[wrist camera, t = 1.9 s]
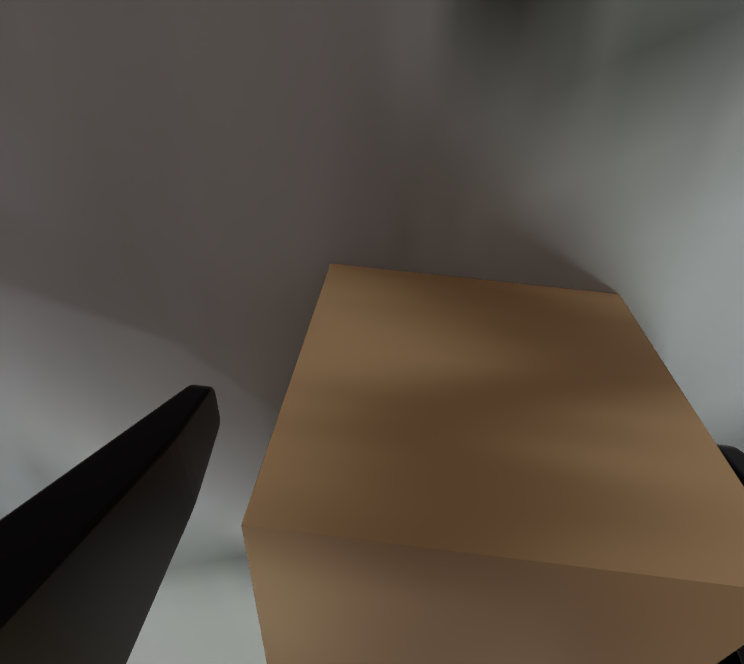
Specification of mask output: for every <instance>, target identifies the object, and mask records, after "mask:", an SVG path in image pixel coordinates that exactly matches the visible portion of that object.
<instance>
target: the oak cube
mask: <svg viewBox="0 0 744 664" xmlns="http://www.w3.org/2000/svg"><path fill="white" fill-rule="evenodd" d="M241 525H242V531H243V536H244V542H245V547H246V553H247V558H248V564H249V569H250V574H251V580H252V585H253V591H254V596H255V602H256V607H257V613H258V618H259V623H260V629H261V634H262V640H263V645H264V651H265V656H266V661H267V664H717V663H719V662H720V661H721V660H723V659H724V658H726V657H727V656H729V655H730V654H731V653H733V652H734V651H736V650H737V649H739V648H740V647H741V646H743V645H744V487H743V485H742V483H741V482H740V480H739V479H738V477H737V476H736V474H735V473H734V471H733V470H732V468H731V466H730V465H729V463H728V462H727V460H726V459H725V457H724V456H723V454H722V453H721V451H720V449H719V448H718V446H717V445H716V443H715V442H714V440H713V439H712V437H711V436H710V434H709V432H708V431H707V429H706V428H705V426H704V425H703V423H702V422H701V420H700V419H699V417H698V415H697V414H696V412H695V411H694V409H693V408H692V406H691V405H690V403H689V402H688V400H687V399H686V397H685V395H684V394H683V392H682V391H681V389H680V388H679V386H678V385H677V383H676V382H675V380H674V378H673V377H672V375H671V374H670V372H669V371H668V369H667V368H666V366H665V365H664V363H663V361H662V360H661V358H660V357H659V355H658V354H657V352H656V351H655V349H654V348H653V346H652V344H651V343H650V341H649V340H648V338H647V337H646V335H645V334H644V332H643V331H642V329H641V327H640V326H639V324H638V323H637V321H636V320H635V318H634V317H633V315H632V314H631V312H630V310H629V309H628V307H627V306H626V304H625V303H624V301H623V300H622V298H621V297H620V295H619V294H613V293H604V292H594V291H585V290H576V289H566V288H557V287H547V286H538V285H529V284H519V283H510V282H500V281H491V280H482V279H472V278H463V277H454V276H444V275H435V274H425V273H416V272H407V271H397V270H388V269H379V268H369V267H360V266H350V265H341V264H332V263H330V266H329V269H328V272H327V275H326V278H325V281H324V284H323V287H322V290H321V293H320V296H319V298H318V301H317V304H316V307H315V310H314V313H313V316H312V319H311V322H310V325H309V328H308V331H307V334H306V337H305V340H304V342H303V345H302V348H301V351H300V354H299V357H298V360H297V363H296V366H295V369H294V372H293V375H292V378H291V381H290V384H289V386H288V389H287V392H286V395H285V398H284V401H283V404H282V407H281V410H280V413H279V416H278V419H277V422H276V425H275V428H274V430H273V433H272V436H271V439H270V442H269V445H268V448H267V451H266V454H265V457H264V460H263V463H262V466H261V469H260V472H259V474H258V477H257V480H256V483H255V486H254V489H253V492H252V495H251V498H250V501H249V504H248V507H247V510H246V513H245V516H244V519H243V521H242V524H241Z"/></svg>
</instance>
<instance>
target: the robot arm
mask: <svg viewBox="0 0 744 664" xmlns="http://www.w3.org/2000/svg"><path fill="white" fill-rule="evenodd" d="M219 425H220V415H219V410H218V405H217V399H216V394H215V391H214V389H213V388H212V387H209V386H201V385H190V386H188V387H186V388H185V389H183V390H182V391H181V392H179V393H178V394H176V395H175V396H174V397H172V398H171V399H169V400H168V401H167V402H165V403H164V404H162V405H161V406H160V407H158V408H157V409H155V410H154V411H153V412H151V413H150V414H148V415H147V416H146V417H144V418H143V419H141V420H140V421H139V422H137V423H136V424H134V425H133V426H131V427H130V428H129V429H127V430H126V431H124V432H123V433H122V434H120V435H119V436H117V437H116V438H115V439H113V440H112V441H110V442H109V443H108V444H106V445H105V446H103V447H102V448H101V449H99V450H98V451H96V452H95V453H94V454H92V455H91V456H89V457H88V458H86V459H85V460H84V461H82V462H81V463H79V464H78V465H77V466H75V467H74V468H72V469H71V470H70V471H68V472H67V473H65V474H64V475H63V476H61V477H60V478H58V479H57V480H56V481H54V482H53V483H51V484H50V485H49V486H47V487H46V488H44V489H43V490H42V491H40V492H39V493H37V494H36V495H34V496H33V497H32V498H30V499H29V500H27V501H26V502H25V503H23V504H22V505H20V506H19V507H18V508H16V509H15V510H13V511H12V512H11V513H9V514H8V515H6V516H5V517H4V518H2V519H1V520H0V664H126V663H127V661H128V658H129V656H130V654H131V651H132V649H133V647H134V644H135V642H136V640H137V638H138V635H139V633H140V631H141V628H142V626H143V624H144V621H145V619H146V617H147V615H148V612H149V610H150V608H151V605H152V603H153V601H154V599H155V596H156V594H157V592H158V589H159V587H160V585H161V582H162V580H163V578H164V576H165V573H166V571H167V569H168V566H169V564H170V562H171V559H172V557H173V555H174V553H175V550H176V548H177V546H178V543H179V541H180V539H181V536H182V534H183V532H184V530H185V527H186V525H187V523H188V520H189V518H190V516H191V513H192V511H193V508H194V506H195V503H196V500H197V497H198V494H199V491H200V488H201V485H202V481H203V478H204V475H205V472H206V468H207V465H208V462H209V459H210V455H211V452H212V449H213V446H214V442H215V439H216V436H217V433H218V429H219ZM716 445H717V444H716ZM717 446H718V448H719V449H720V451H721V453H722V454H723V456H724V457H725V459H726V460H727V462H728V463H729V465H730V466H731V468H732V470H733V471H734V473H735V474H736V476H737V477H738V479H739V480H740V482H741V483H742V485H743V487H744V453H743V452H741V451H740V450H738V449H737V448H735V447H732V446H726V445H717ZM717 664H744V645H743V646H741V647H740V648H739V649H737V650H736V651H734V652H733V653H731V654H730V655H729V656H727V657H726V658H724V659H723V660H721V661H720V662H719V663H717Z"/></svg>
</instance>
